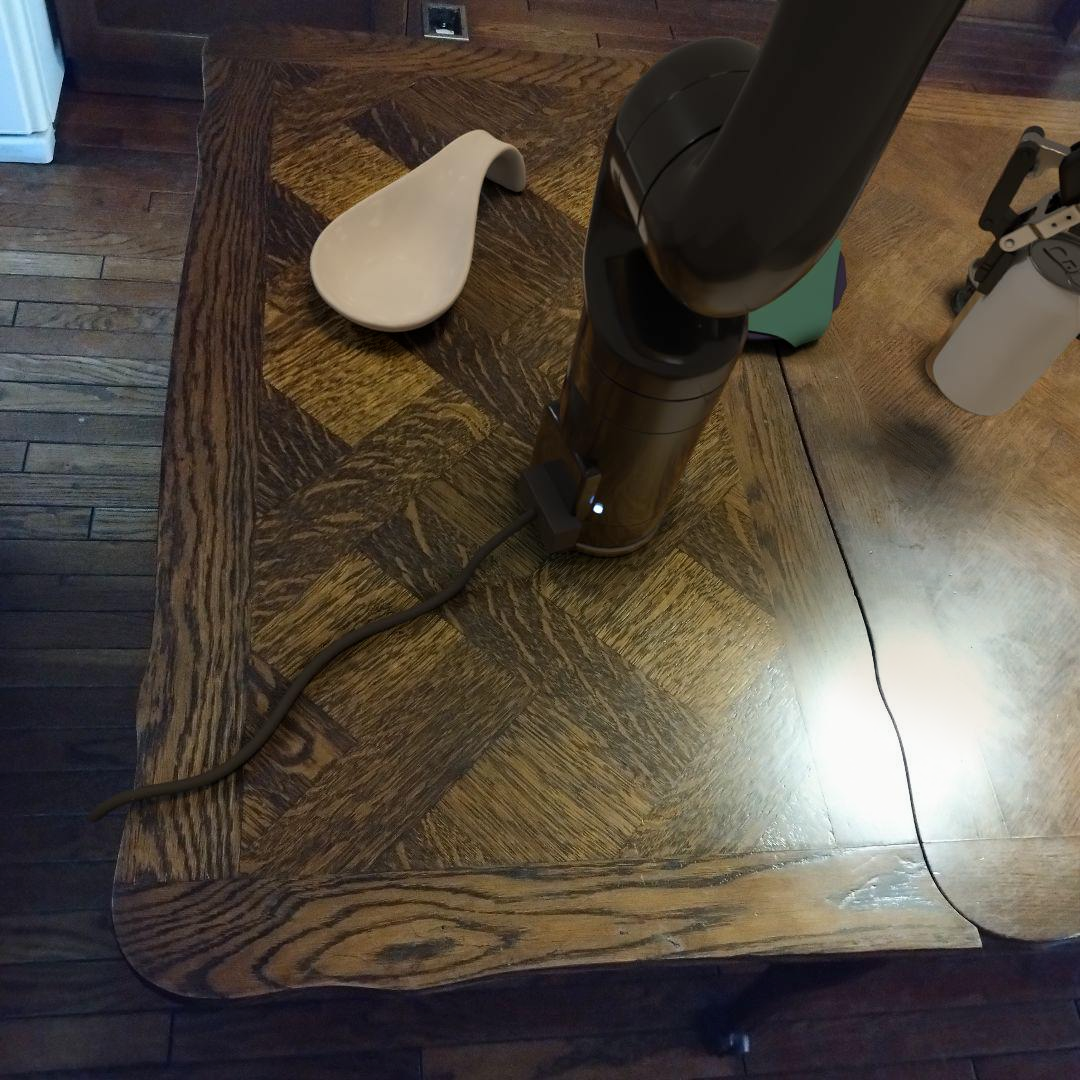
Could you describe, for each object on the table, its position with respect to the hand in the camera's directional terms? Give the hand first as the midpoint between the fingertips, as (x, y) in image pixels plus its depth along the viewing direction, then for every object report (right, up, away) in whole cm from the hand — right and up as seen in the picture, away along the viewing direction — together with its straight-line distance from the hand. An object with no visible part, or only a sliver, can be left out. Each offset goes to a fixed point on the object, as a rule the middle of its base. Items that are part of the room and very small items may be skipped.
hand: (1033, 309), depth 65 cm
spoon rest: (-42, +8, +16) cm, 45 cm away
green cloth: (-15, +12, +23) cm, 30 cm away
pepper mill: (+2, -1, +18) cm, 18 cm away
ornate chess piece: (+6, +5, +22) cm, 24 cm away
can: (-1, -4, +7) cm, 8 cm away
